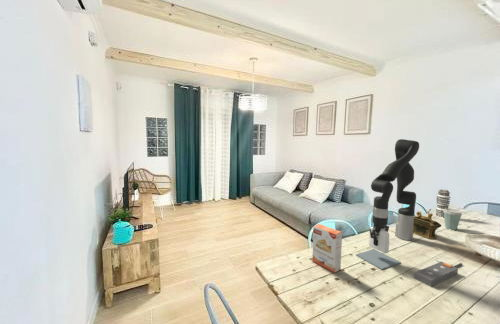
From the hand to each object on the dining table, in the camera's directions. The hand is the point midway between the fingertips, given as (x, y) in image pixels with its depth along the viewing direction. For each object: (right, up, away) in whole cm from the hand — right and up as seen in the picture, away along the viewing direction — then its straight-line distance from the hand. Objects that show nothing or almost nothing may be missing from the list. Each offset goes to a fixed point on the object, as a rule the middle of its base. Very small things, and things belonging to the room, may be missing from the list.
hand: (378, 244), depth 122 cm
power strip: (+26, -10, -12) cm, 30 cm away
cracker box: (-32, -10, -6) cm, 34 cm away
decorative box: (+52, -6, +35) cm, 63 cm away
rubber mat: (0, -9, +1) cm, 9 cm away
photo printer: (0, -3, 0) cm, 3 cm away
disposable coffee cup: (+83, -5, +45) cm, 95 cm away
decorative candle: (+99, -3, +70) cm, 122 cm away
